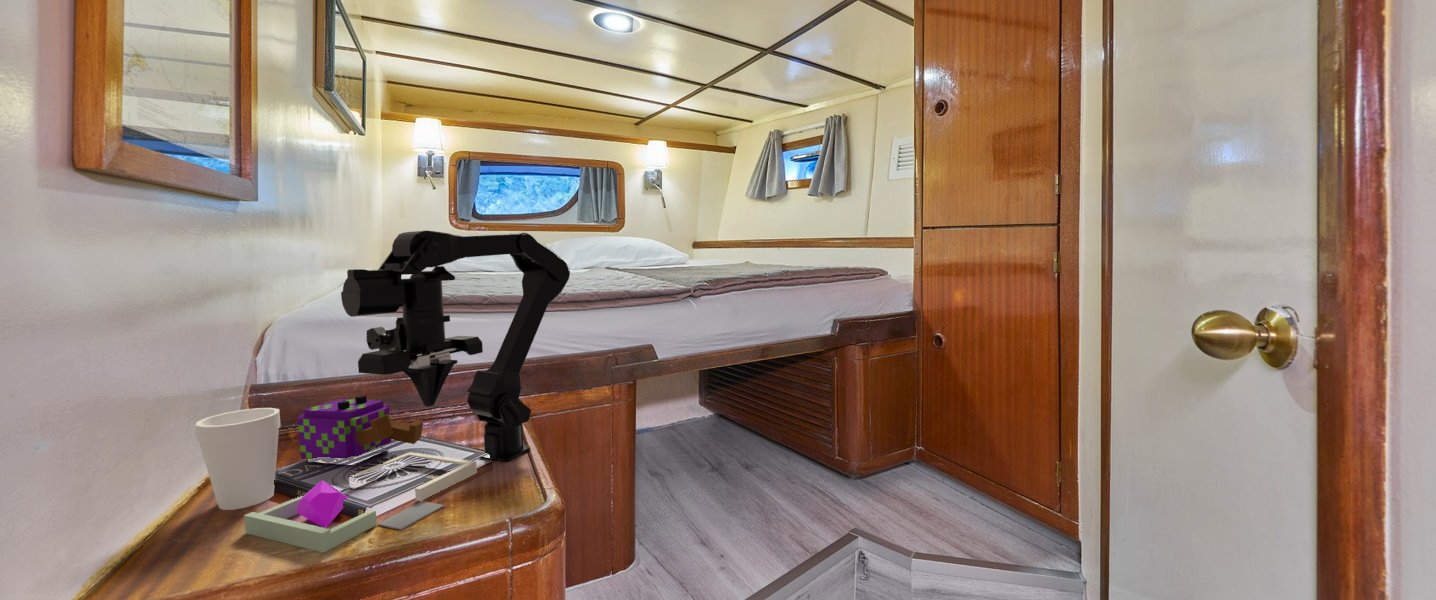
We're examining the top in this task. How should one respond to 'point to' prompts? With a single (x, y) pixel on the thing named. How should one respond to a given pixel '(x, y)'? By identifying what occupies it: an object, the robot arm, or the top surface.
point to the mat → (410, 515)
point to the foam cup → (240, 455)
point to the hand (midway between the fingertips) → (429, 405)
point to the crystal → (321, 504)
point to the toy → (351, 428)
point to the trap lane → (324, 539)
